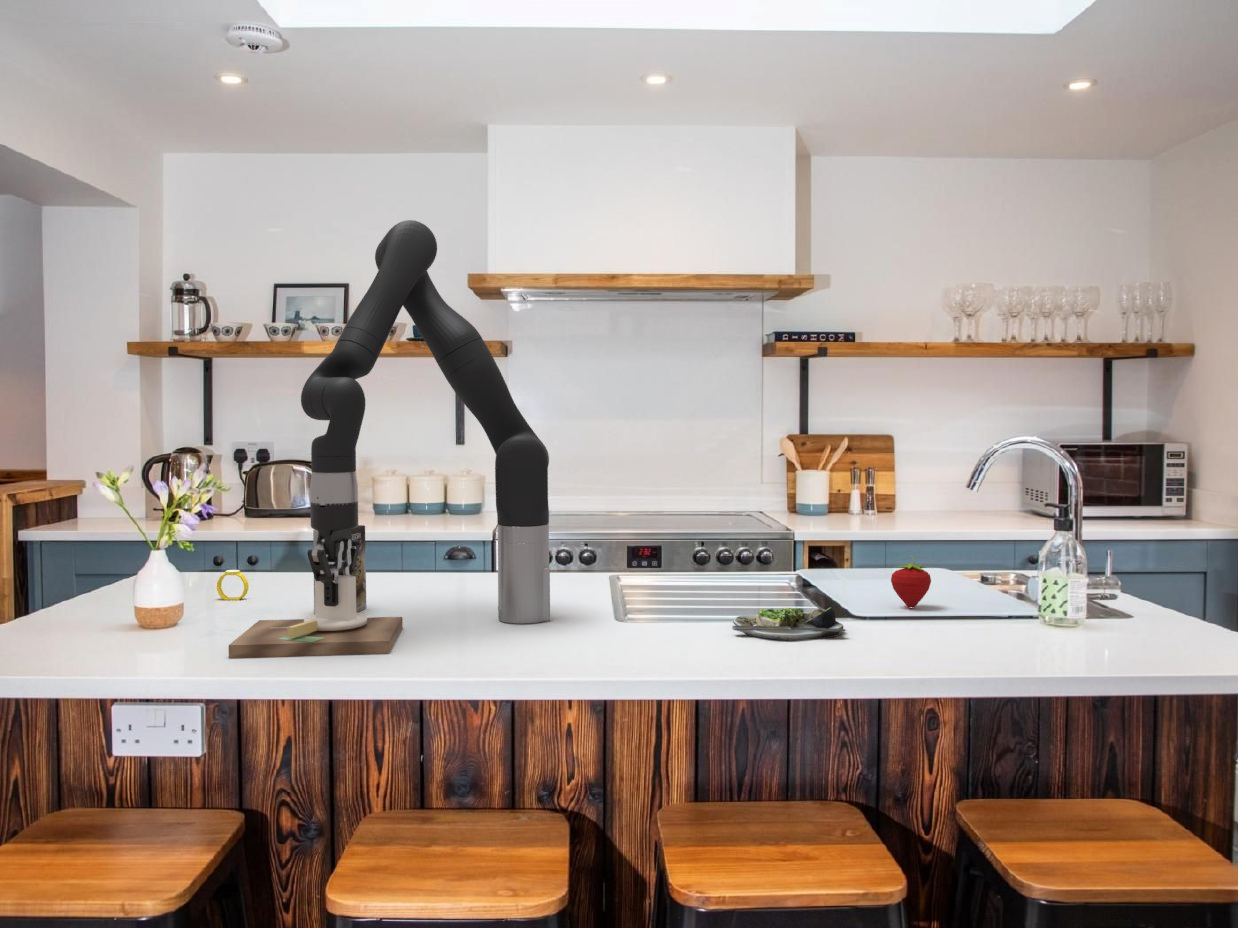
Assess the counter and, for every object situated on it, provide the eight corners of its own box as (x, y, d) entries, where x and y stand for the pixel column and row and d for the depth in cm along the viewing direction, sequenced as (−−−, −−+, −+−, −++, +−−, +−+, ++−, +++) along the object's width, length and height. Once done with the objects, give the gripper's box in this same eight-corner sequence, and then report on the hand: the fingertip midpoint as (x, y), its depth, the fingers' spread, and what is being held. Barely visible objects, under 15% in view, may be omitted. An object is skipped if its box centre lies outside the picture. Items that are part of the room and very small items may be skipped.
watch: (249, 599, 197) (251, 570, 197) (243, 602, 194) (245, 572, 194) (220, 597, 197) (222, 568, 197) (214, 600, 194) (215, 570, 194)
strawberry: (885, 605, 187) (886, 553, 187) (923, 604, 188) (924, 553, 187) (896, 611, 182) (897, 558, 181) (936, 610, 182) (936, 557, 182)
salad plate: (754, 649, 154) (754, 620, 154) (708, 626, 171) (708, 600, 171) (860, 640, 161) (860, 612, 160) (806, 618, 178) (806, 593, 177)
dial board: (402, 628, 169) (402, 616, 169) (389, 653, 151) (389, 640, 151) (259, 631, 166) (259, 619, 166) (228, 658, 148) (228, 644, 148)
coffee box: (345, 618, 177) (343, 530, 176) (313, 616, 179) (311, 529, 178) (368, 608, 186) (366, 524, 185) (337, 607, 187) (335, 523, 187)
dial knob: (332, 615, 167) (331, 569, 167) (379, 620, 163) (378, 573, 163) (265, 634, 153) (264, 584, 153) (315, 640, 149) (314, 588, 149)
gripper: (334, 495, 167) (336, 595, 168) (290, 502, 154) (292, 611, 155) (375, 496, 165) (376, 597, 166) (333, 503, 152) (335, 613, 153)
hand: (335, 603), depth 160 cm, fingers closed on dial knob, 2 cm apart
